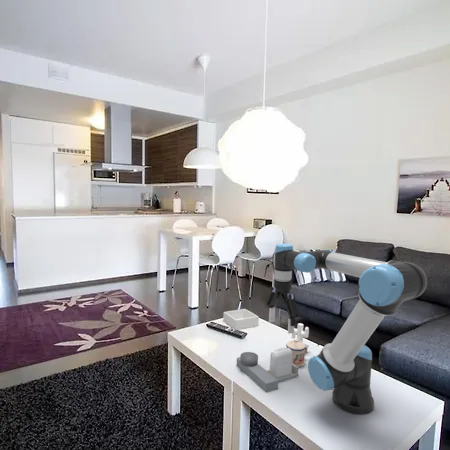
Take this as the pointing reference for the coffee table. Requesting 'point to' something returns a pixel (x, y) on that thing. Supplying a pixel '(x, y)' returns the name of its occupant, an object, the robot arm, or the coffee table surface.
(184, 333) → the coffee table surface
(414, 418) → the coffee table surface
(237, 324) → the box
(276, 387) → the deck
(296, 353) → the teacup with lid
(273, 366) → the photo printer
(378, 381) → the coffee table surface
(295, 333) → the figurine
